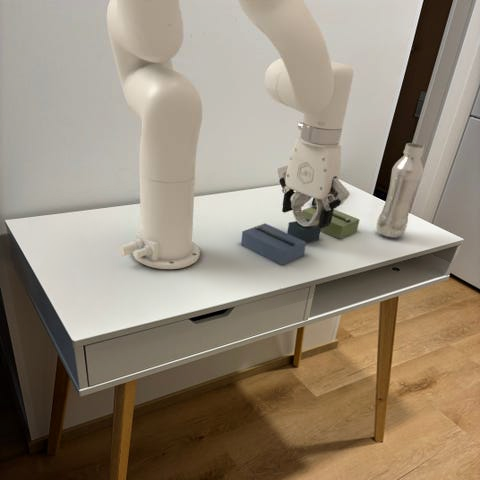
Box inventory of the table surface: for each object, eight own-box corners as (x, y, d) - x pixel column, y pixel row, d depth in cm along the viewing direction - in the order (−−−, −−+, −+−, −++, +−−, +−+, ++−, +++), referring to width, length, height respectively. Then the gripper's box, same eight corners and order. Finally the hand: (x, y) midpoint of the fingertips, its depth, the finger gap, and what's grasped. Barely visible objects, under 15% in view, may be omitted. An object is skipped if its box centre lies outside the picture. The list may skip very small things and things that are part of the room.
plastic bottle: (368, 230, 112) (392, 141, 101) (390, 227, 115) (415, 140, 104) (387, 242, 108) (414, 150, 96) (409, 239, 111) (438, 149, 99)
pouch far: (339, 239, 107) (343, 224, 105) (300, 222, 113) (302, 207, 110) (356, 231, 111) (360, 216, 109) (317, 215, 117) (320, 201, 115)
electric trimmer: (343, 193, 132) (345, 182, 131) (324, 209, 120) (326, 197, 119) (329, 190, 134) (332, 178, 132) (309, 205, 122) (312, 193, 120)
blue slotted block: (282, 265, 94) (284, 248, 92) (240, 244, 100) (242, 228, 98) (303, 255, 98) (307, 239, 96) (263, 236, 104) (265, 220, 102)
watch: (300, 228, 110) (308, 180, 103) (324, 243, 104) (334, 193, 98) (280, 232, 107) (288, 183, 100) (304, 247, 101) (314, 197, 95)
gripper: (273, 126, 95) (262, 209, 105) (348, 149, 86) (328, 237, 96) (297, 122, 100) (284, 202, 110) (369, 144, 91) (349, 228, 101)
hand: (305, 218), depth 103 cm, fingers open, 9 cm apart
